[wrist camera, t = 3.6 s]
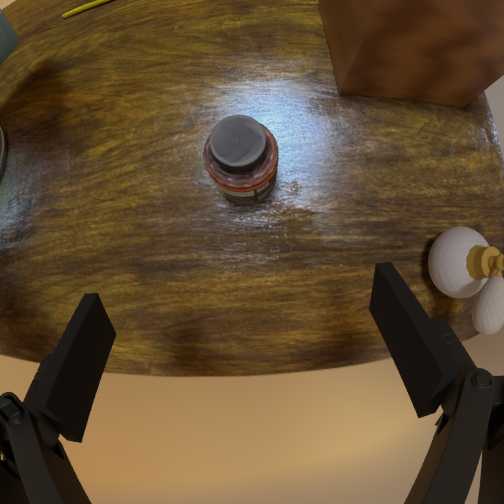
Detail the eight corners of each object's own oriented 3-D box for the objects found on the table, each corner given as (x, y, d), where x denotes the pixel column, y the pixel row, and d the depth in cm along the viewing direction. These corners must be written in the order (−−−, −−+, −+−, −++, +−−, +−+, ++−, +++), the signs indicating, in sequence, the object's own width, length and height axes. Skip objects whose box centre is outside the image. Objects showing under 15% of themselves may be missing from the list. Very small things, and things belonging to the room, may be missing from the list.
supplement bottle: (232, 143, 32) (219, 91, 21) (284, 165, 32) (294, 119, 21) (208, 193, 32) (181, 160, 21) (261, 216, 32) (260, 192, 21)
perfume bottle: (464, 226, 31) (531, 214, 19) (470, 307, 31) (537, 321, 19) (413, 233, 31) (478, 220, 19) (421, 320, 31) (485, 343, 19)
